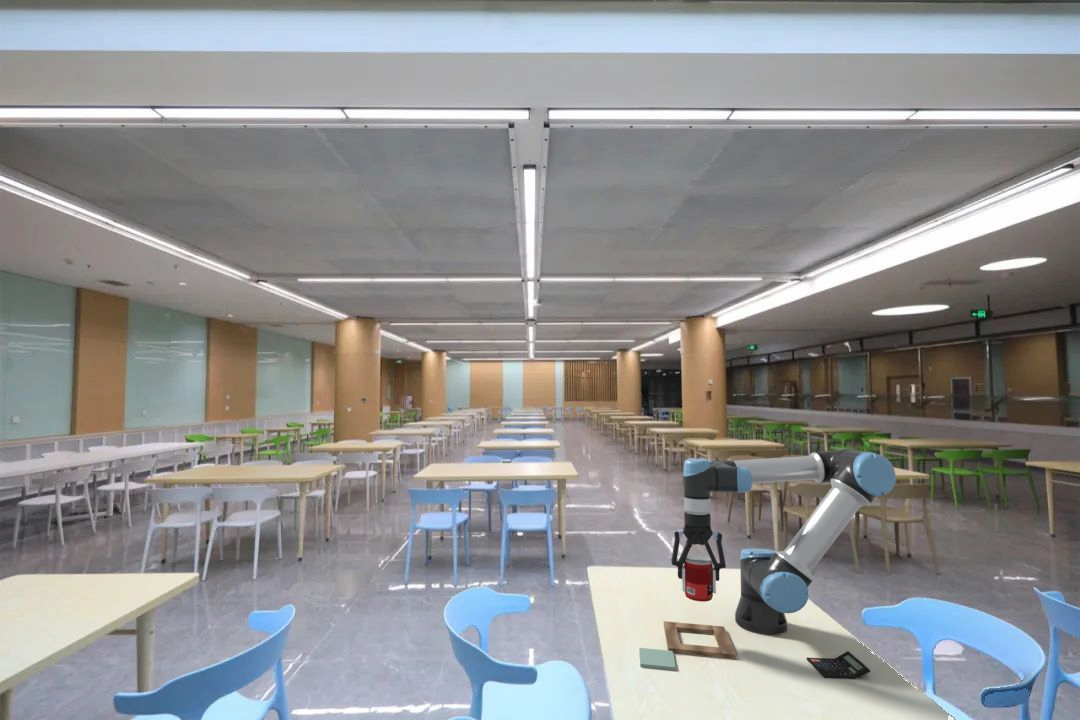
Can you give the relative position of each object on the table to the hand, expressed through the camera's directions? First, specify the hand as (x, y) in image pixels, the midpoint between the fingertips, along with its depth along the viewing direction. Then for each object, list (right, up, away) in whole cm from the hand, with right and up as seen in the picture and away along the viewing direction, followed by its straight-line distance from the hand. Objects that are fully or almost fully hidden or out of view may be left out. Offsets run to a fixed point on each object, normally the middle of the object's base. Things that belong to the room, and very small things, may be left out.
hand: (698, 590), depth 152 cm
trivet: (-15, -13, -13) cm, 24 cm away
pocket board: (-1, -14, -1) cm, 14 cm away
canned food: (0, -2, 0) cm, 2 cm away
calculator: (+32, -14, -16) cm, 38 cm away
